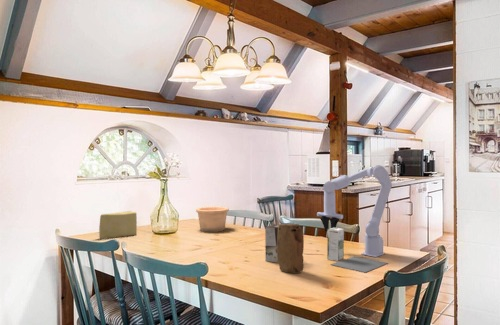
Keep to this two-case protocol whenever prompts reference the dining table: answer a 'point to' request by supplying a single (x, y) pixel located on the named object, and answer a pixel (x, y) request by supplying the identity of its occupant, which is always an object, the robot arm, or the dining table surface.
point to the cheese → (118, 225)
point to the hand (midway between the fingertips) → (329, 231)
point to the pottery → (212, 218)
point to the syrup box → (335, 244)
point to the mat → (359, 264)
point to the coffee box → (271, 243)
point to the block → (290, 247)
